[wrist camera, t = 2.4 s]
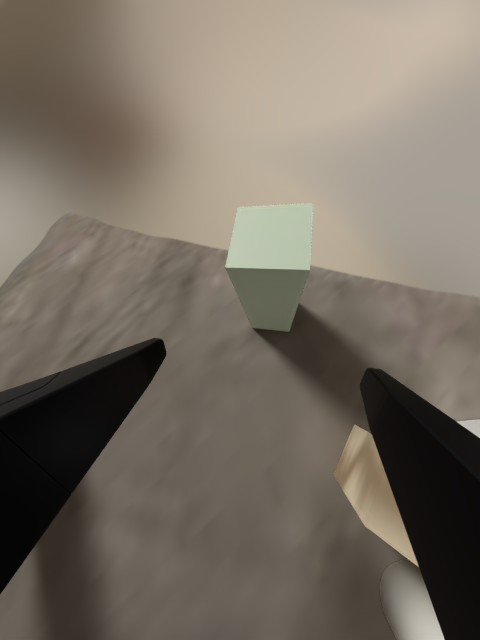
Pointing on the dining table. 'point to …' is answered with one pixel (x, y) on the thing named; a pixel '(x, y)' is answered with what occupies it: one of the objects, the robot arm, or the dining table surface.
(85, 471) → the robot arm
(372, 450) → the birch block
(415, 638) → the plastic canister
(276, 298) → the sage block
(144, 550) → the dining table surface
